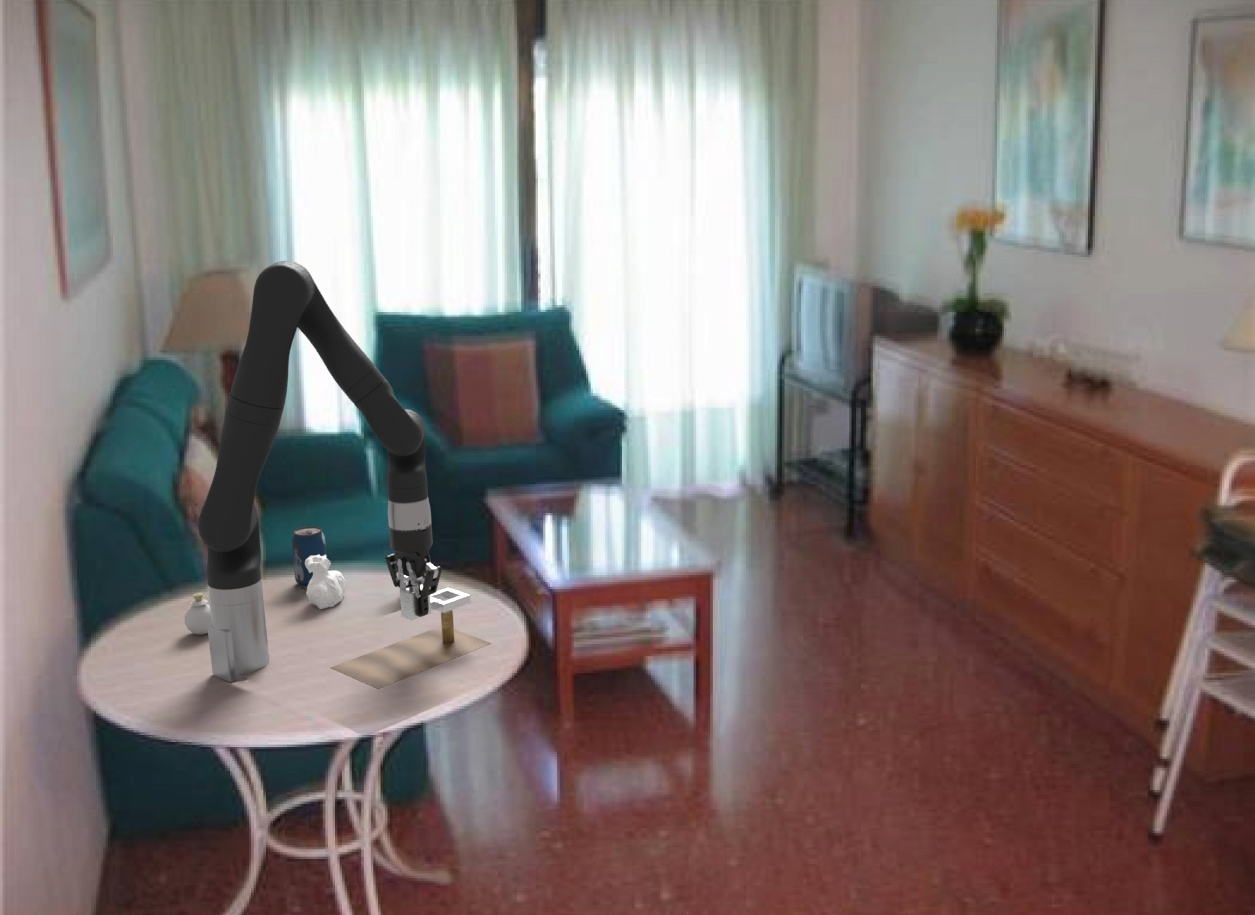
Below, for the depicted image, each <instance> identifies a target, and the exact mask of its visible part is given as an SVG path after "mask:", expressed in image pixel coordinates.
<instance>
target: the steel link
mask: <svg viewBox="0 0 1255 915" xmlns="http://www.w3.org/2000/svg"><path fill="white" fill-rule="evenodd" d="M422 588H423V585H420V589H421V590H422ZM415 597H416V595H415V590H414V586H411V587H408V588H405V589H403V590H400V589H399V598H400V601H399V602H400V613H401V617H402V618H404V619H408V620H410V621H414V620H416V619H420V618H421V617H419V616H417V612H416V598H415ZM471 603H472V600H471V594H469V593H466V592H464V591H460V590H457V589H454V588H450V587H446V588H442V589H439V590H436V593H434V594H431V595H428V605H429V612H428V614H427V615H430V614H432V612H433V611H437V612H440V613H441V612H443V613H445V612H448V611H450V610H452V611H453V610H456V609H458V608H460V607H461V608H462V607H464V606H466V605H469V604H471ZM427 615H426V616H427Z"/></svg>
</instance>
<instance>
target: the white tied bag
mask: <svg viewBox="0 0 1255 915" xmlns="http://www.w3.org/2000/svg"><path fill="white" fill-rule="evenodd" d="M326 555H327V554H326ZM326 555H324V556H320V555H319V554H318V555H316V556H312V555H311V556H310V557H308V558H307V559H306V560H305V566H306V568H307V569H308V571H309V573H311V572H313V576H312V578H311V580H310V581H309V584H308V586H307V588H306V592H305V595H306V596H307V597H308V602H310V603H311V604H312V605H314V606H316V607H317V608H318V609H320V610H323V609H327V608H333V607H335V605H338V604H339V603H340V602H342V601H343V599H344V595H345V593H346V590H347V581H346V579H345V577H344V576H343V574H342V572H340V571H339V570H329V568H330V566H331V564H332V563H331V562H332V561H331V560H329V559H328V558H326Z"/></svg>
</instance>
